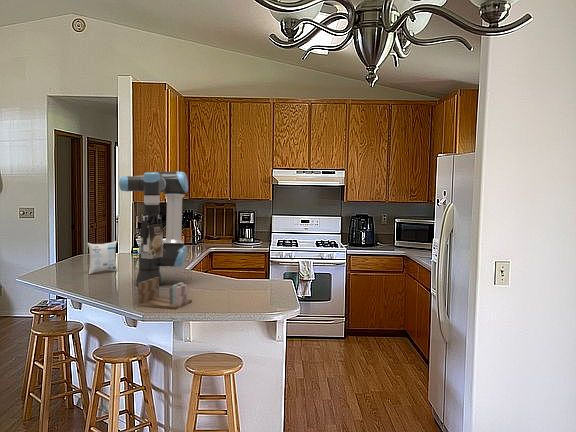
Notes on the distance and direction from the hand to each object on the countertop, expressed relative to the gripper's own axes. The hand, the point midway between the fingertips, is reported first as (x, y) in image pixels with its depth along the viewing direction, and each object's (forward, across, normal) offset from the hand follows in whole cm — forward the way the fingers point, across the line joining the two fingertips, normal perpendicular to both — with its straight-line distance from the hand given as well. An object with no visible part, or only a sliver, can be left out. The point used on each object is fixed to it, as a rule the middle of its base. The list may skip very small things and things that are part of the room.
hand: (152, 250), depth 268 cm
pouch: (+25, -57, -75) cm, 97 cm away
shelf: (+26, 0, +7) cm, 27 cm away
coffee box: (+4, 0, 0) cm, 4 cm away
